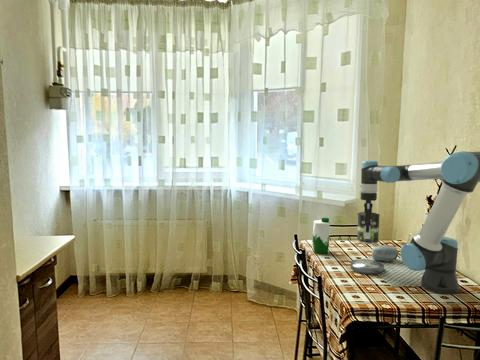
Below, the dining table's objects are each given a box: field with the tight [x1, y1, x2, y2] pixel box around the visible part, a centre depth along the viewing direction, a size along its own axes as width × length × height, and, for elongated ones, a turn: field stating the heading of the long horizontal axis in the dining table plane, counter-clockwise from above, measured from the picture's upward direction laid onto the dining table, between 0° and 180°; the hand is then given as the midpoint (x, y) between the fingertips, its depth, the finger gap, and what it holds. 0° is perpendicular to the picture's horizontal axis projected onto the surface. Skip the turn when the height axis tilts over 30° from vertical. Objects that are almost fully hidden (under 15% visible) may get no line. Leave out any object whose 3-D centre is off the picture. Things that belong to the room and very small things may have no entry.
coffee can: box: [356, 211, 380, 245], centre depth 188 cm, size 10×10×14 cm
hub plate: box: [350, 258, 385, 276], centre depth 190 cm, size 16×16×3 cm
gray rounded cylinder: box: [371, 244, 399, 262], centre depth 204 cm, size 14×10×10 cm
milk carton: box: [312, 217, 331, 255], centre depth 217 cm, size 9×9×20 cm
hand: (367, 236), depth 188 cm, fingers closed on coffee can, 10 cm apart
